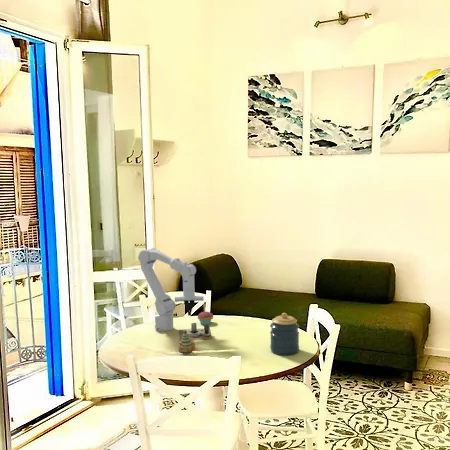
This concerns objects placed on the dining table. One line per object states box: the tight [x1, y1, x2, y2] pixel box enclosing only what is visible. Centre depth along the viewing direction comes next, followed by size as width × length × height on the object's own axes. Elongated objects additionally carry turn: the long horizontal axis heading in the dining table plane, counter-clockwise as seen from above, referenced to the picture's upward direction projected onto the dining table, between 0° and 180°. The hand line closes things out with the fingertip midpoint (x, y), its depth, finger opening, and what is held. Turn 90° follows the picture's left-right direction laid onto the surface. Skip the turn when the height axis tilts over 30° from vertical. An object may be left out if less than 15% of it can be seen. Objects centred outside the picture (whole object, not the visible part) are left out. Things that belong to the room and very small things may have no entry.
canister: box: [269, 312, 300, 356], centre depth 219 cm, size 13×13×18 cm
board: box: [178, 327, 213, 342], centre depth 242 cm, size 16×18×1 cm
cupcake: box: [197, 303, 214, 325], centre depth 261 cm, size 9×8×12 cm
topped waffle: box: [178, 331, 196, 355], centre depth 221 cm, size 8×6×10 cm
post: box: [190, 322, 198, 333], centre depth 242 cm, size 3×3×6 cm
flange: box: [183, 324, 210, 337], centre depth 241 cm, size 12×8×6 cm, turn 66°
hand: (189, 315), depth 245 cm, fingers closed
